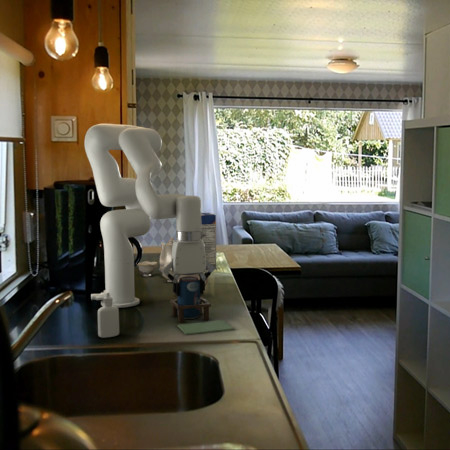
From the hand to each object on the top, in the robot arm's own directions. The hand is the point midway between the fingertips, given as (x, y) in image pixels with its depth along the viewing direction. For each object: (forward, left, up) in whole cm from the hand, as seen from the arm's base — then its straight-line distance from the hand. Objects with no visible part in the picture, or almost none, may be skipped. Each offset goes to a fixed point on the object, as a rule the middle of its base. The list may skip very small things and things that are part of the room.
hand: (188, 293), depth 198 cm
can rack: (0, 0, -7) cm, 7 cm away
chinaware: (+8, +69, -8) cm, 70 cm away
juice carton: (+29, +85, -8) cm, 90 cm away
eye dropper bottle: (-26, -11, -8) cm, 29 cm away
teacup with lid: (+9, +32, -8) cm, 34 cm away
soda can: (0, 0, -7) cm, 7 cm away
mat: (+1, -13, -7) cm, 15 cm away
